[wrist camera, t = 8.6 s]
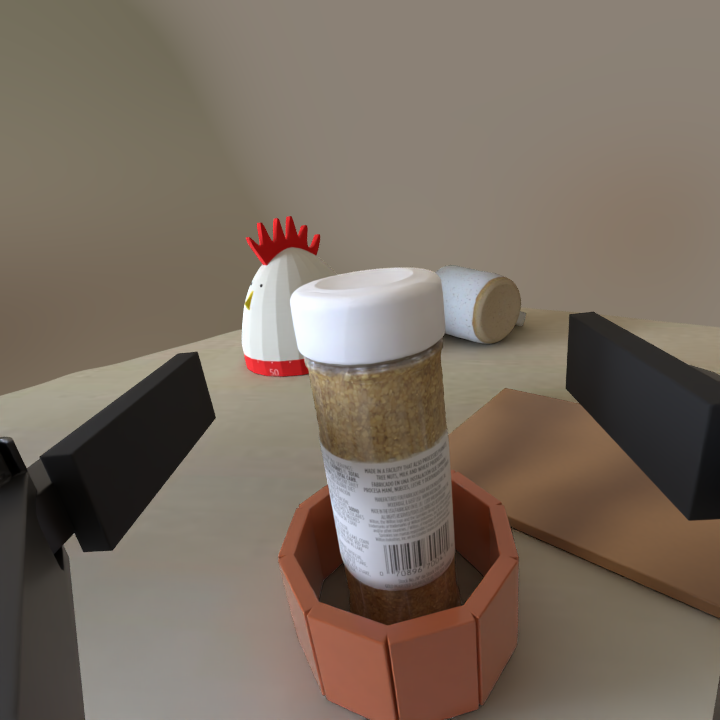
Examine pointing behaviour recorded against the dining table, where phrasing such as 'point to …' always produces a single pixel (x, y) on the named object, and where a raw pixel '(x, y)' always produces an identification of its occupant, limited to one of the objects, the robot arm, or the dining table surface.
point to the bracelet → (411, 637)
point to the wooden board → (586, 495)
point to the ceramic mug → (479, 304)
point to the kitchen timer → (278, 299)
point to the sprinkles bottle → (383, 434)
